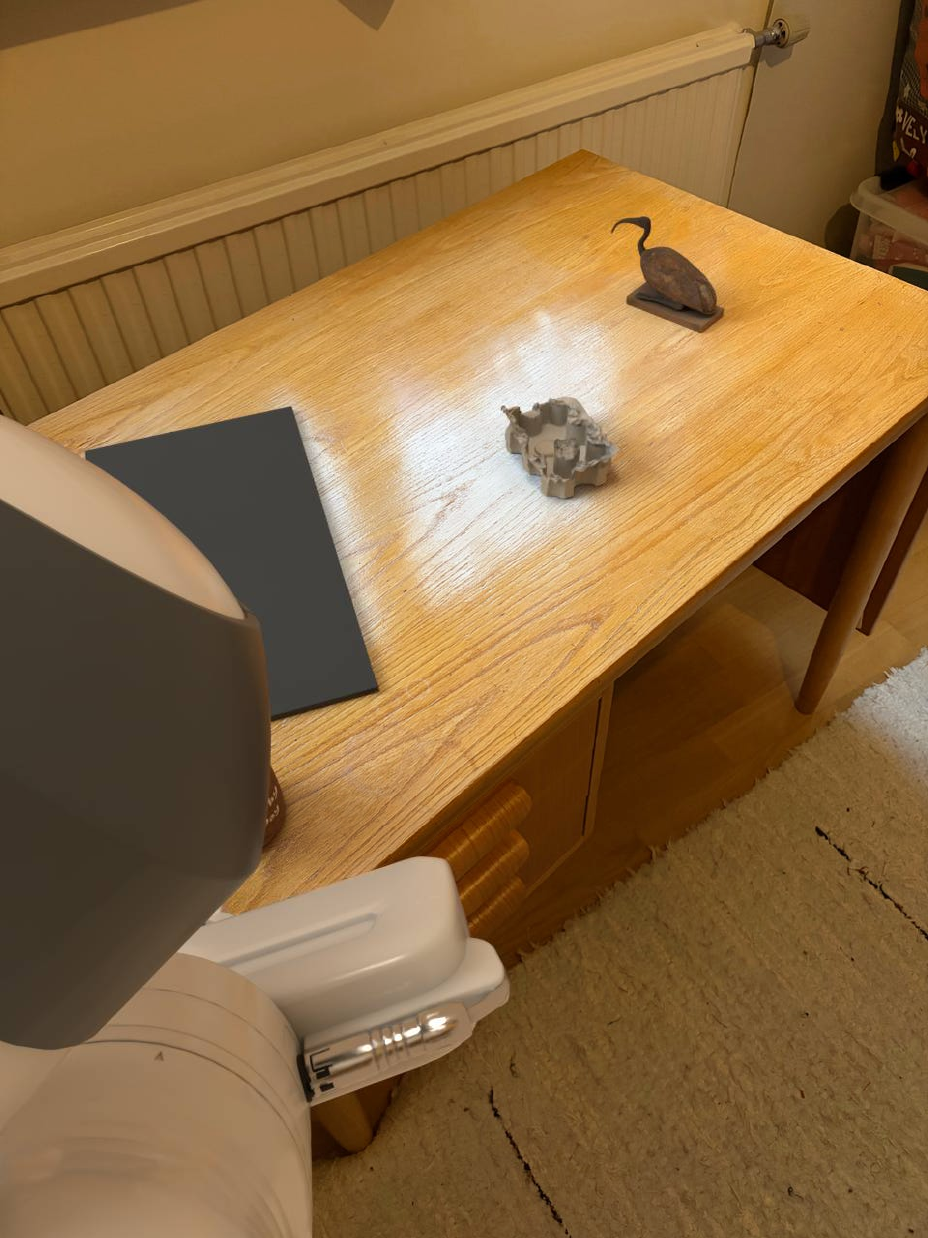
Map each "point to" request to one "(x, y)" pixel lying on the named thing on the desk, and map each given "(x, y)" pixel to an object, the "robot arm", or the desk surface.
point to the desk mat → (259, 544)
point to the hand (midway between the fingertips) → (195, 928)
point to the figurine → (672, 285)
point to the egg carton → (560, 445)
